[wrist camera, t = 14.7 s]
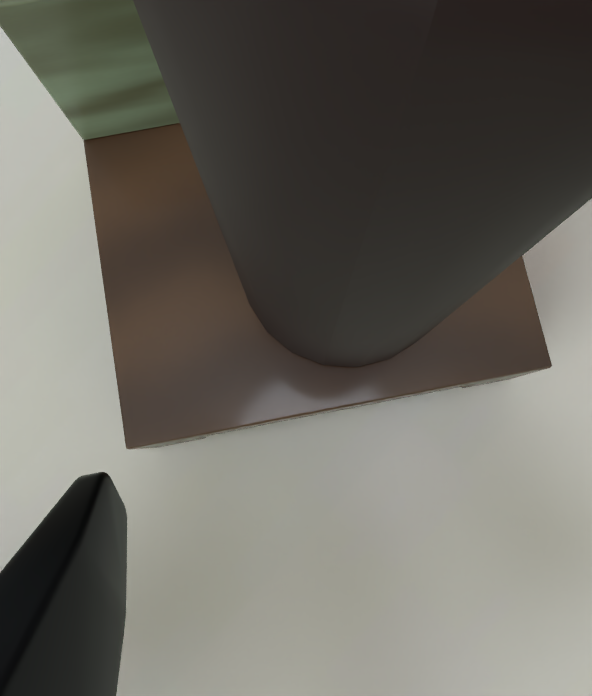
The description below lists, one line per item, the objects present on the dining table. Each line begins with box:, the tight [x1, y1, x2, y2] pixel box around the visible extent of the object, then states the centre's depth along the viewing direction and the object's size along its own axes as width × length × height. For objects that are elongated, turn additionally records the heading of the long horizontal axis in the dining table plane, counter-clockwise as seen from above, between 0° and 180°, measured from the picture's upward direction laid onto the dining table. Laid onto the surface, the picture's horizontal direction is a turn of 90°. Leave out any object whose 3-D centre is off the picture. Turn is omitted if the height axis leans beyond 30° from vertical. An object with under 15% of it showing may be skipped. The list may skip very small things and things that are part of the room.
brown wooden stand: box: [0, 0, 552, 449], centre depth 17 cm, size 12×14×10 cm
